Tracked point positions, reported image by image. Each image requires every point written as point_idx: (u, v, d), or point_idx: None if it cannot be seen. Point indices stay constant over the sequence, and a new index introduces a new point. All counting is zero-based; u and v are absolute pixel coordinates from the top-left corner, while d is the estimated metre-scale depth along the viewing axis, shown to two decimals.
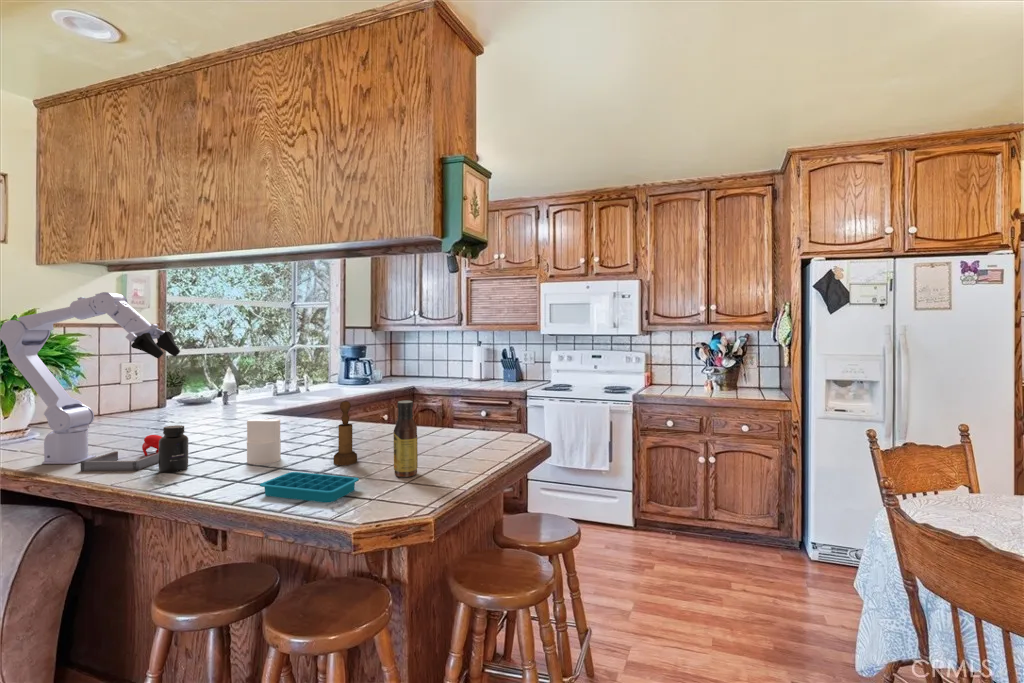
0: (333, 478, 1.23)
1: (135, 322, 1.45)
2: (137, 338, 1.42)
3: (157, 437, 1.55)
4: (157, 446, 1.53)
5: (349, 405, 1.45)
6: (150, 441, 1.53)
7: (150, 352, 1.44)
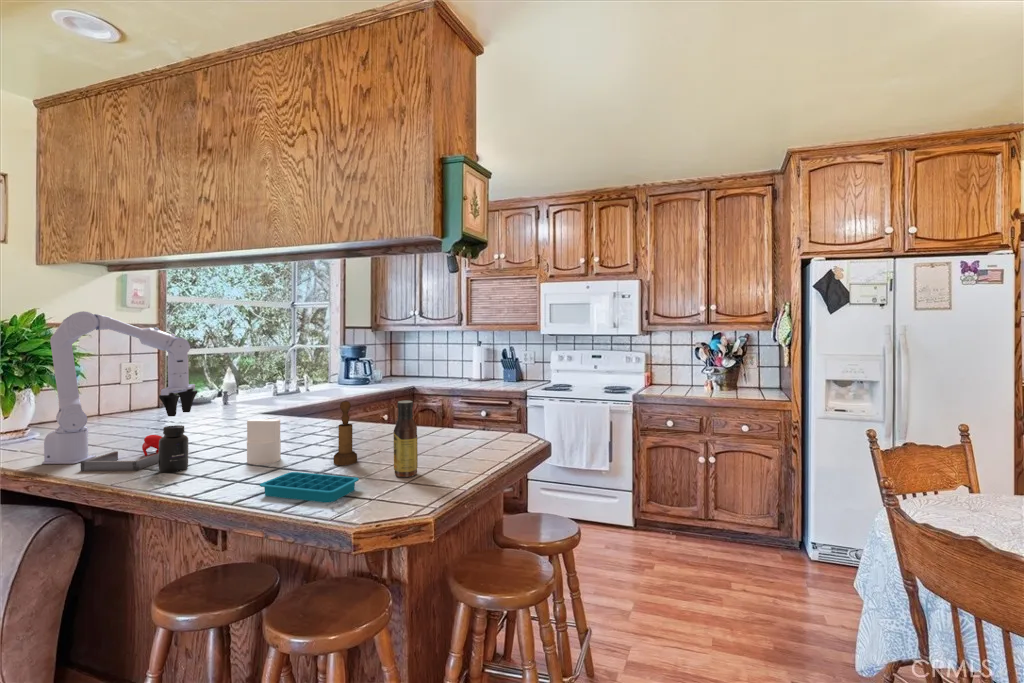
0: (333, 478, 1.23)
1: (178, 377, 1.64)
2: (167, 395, 1.60)
3: (157, 437, 1.55)
4: (157, 446, 1.53)
5: (349, 405, 1.45)
6: (150, 441, 1.53)
7: (167, 408, 1.62)
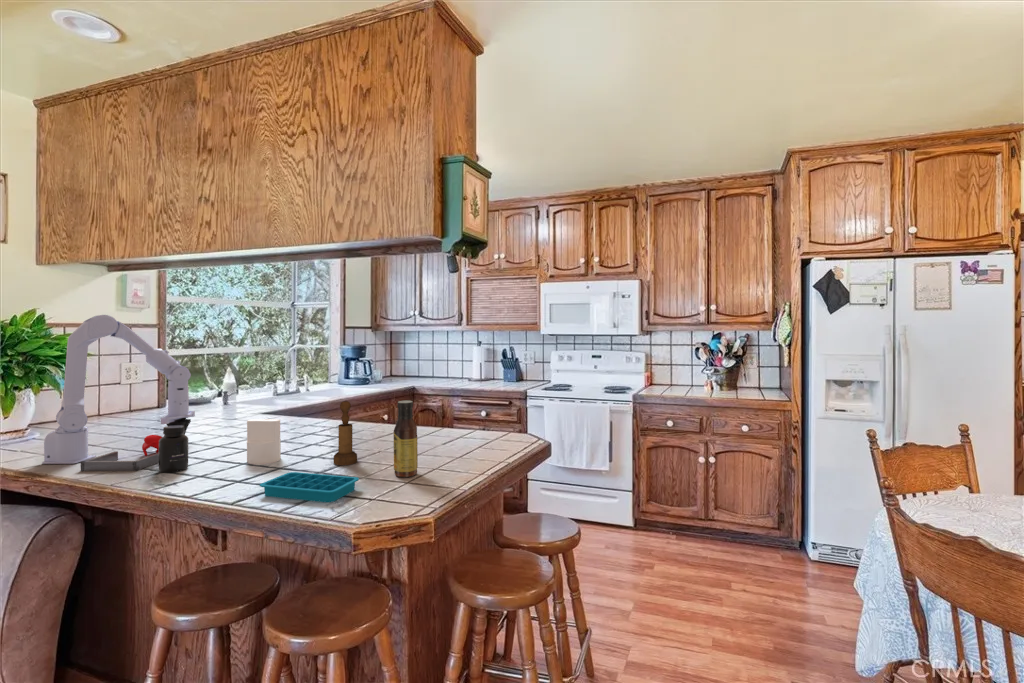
0: (333, 478, 1.23)
1: (179, 405, 1.64)
2: (174, 422, 1.64)
3: (157, 437, 1.55)
4: (157, 446, 1.53)
5: (349, 405, 1.45)
6: (150, 441, 1.53)
7: None
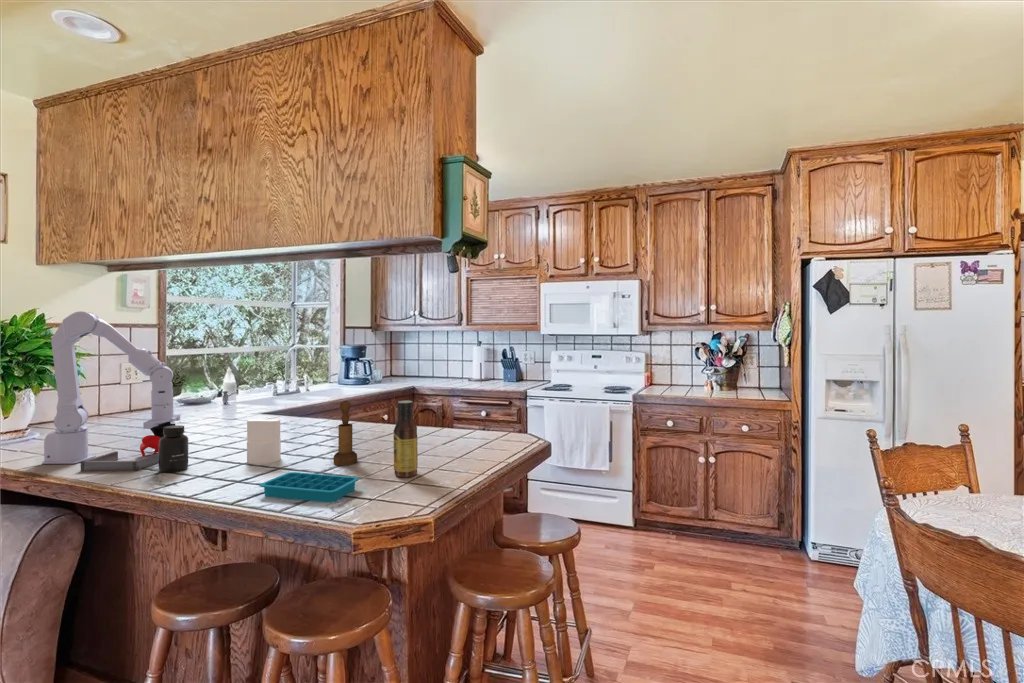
0: (333, 478, 1.23)
1: (162, 409, 1.56)
2: (158, 426, 1.56)
3: (155, 437, 1.54)
4: (155, 446, 1.52)
5: (349, 405, 1.45)
6: (148, 441, 1.52)
7: None
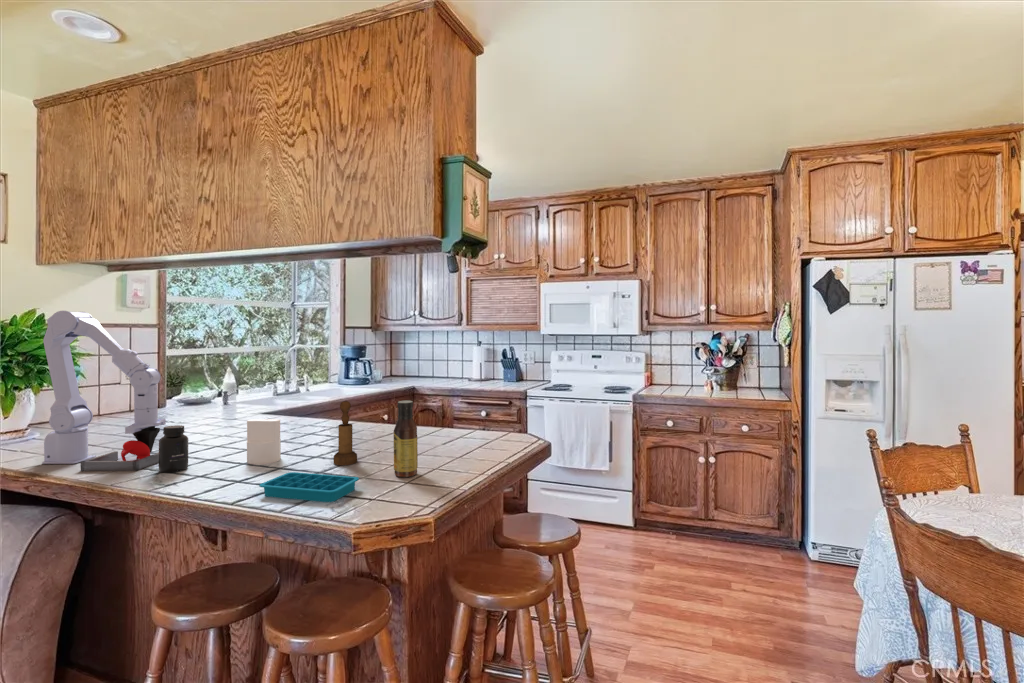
0: (333, 478, 1.23)
1: (146, 413, 1.49)
2: (141, 431, 1.49)
3: (136, 443, 1.46)
4: (135, 452, 1.45)
5: (349, 405, 1.45)
6: (128, 447, 1.45)
7: None
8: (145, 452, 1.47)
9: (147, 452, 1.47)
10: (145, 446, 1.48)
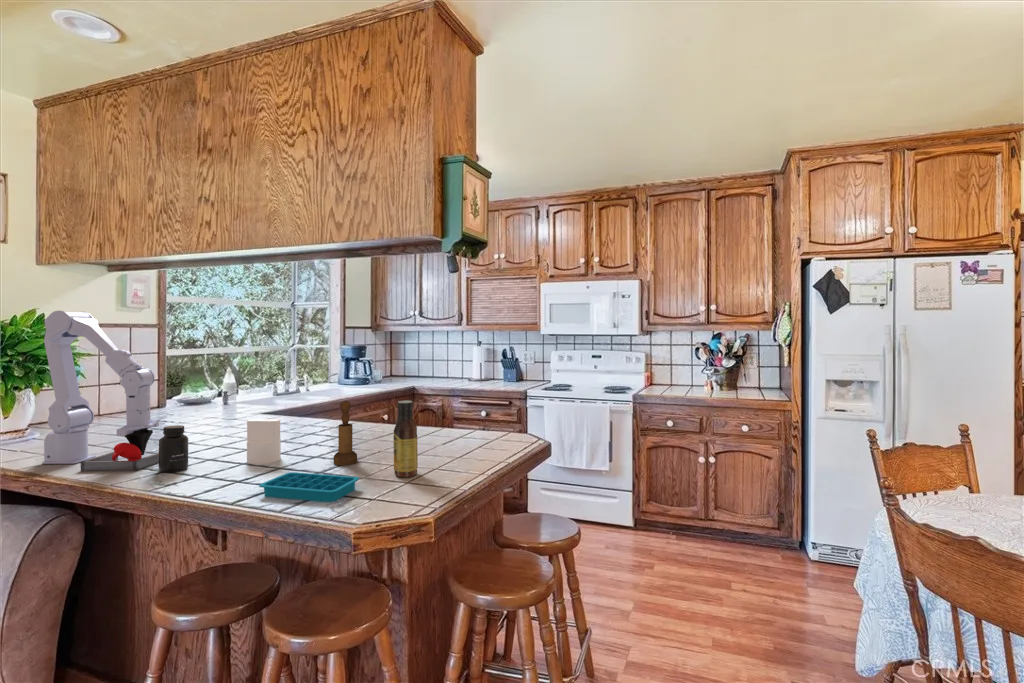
0: (333, 478, 1.23)
1: (138, 415, 1.46)
2: (134, 433, 1.45)
3: (127, 445, 1.43)
4: (126, 455, 1.42)
5: (349, 405, 1.45)
6: (119, 450, 1.42)
7: None
8: (136, 455, 1.43)
9: (138, 455, 1.44)
10: (136, 449, 1.44)
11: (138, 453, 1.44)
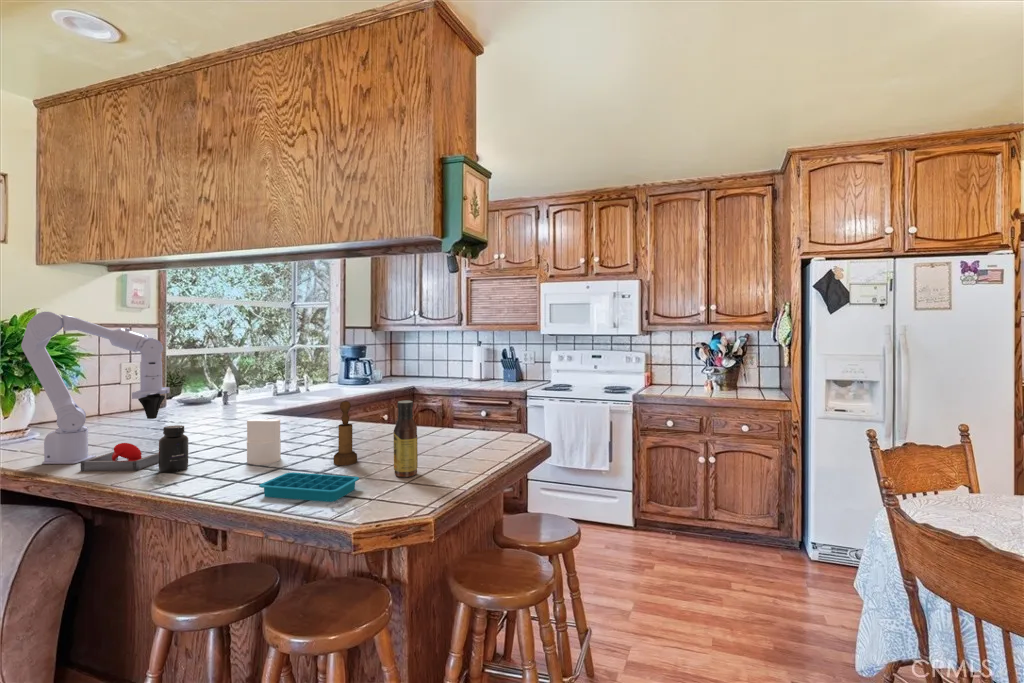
0: (332, 478, 1.23)
1: (151, 380, 1.57)
2: (147, 397, 1.57)
3: (127, 446, 1.43)
4: (126, 456, 1.42)
5: (349, 405, 1.45)
6: (119, 450, 1.42)
7: (146, 411, 1.58)
8: (136, 455, 1.43)
9: (138, 455, 1.44)
10: (136, 449, 1.44)
11: (138, 453, 1.44)
